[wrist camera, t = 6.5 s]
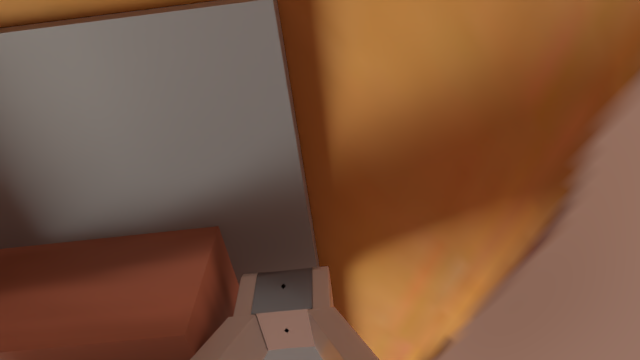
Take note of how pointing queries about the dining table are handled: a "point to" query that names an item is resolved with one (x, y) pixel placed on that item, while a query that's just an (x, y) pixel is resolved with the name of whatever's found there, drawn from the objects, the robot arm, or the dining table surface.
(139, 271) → the t block
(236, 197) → the board
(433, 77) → the dining table surface
